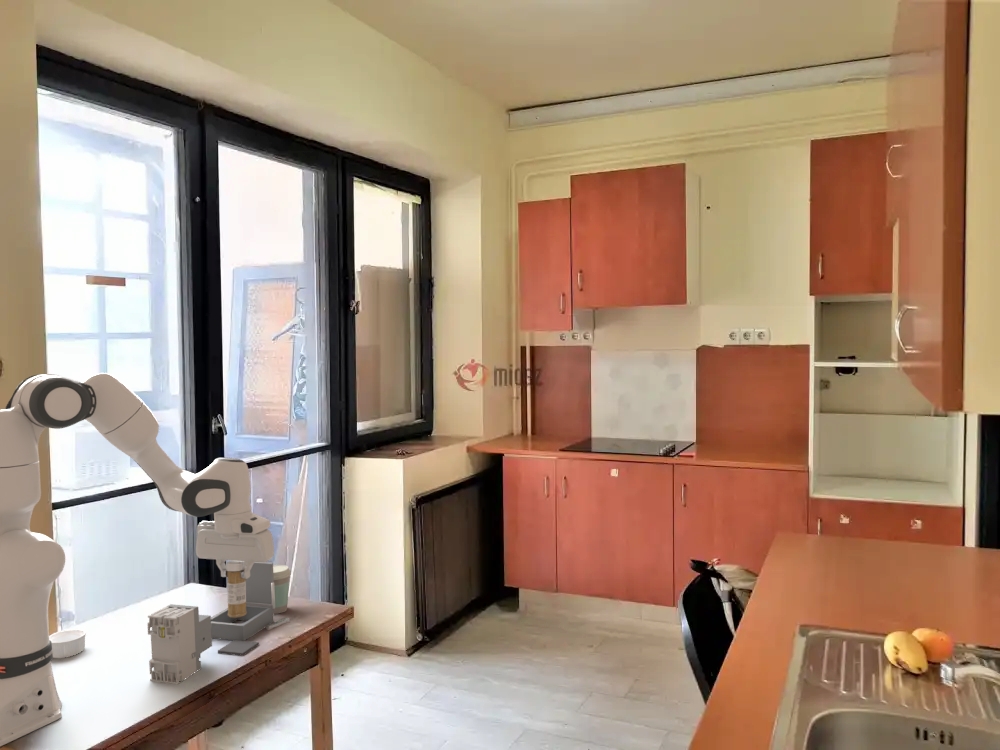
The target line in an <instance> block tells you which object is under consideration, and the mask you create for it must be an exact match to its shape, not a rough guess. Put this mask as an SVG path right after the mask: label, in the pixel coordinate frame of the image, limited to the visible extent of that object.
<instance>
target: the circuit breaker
mask: <svg viewBox="0 0 1000 750" xmlns="http://www.w3.org/2000/svg"><path fill="white" fill-rule="evenodd" d="M199 612H200V611H199V606H197V605H196V606H195V605H183V604H171V603H170V604H169V605H166V606H165V607H162V608H160V609H159V610H157V611H154V612H153V613H151V614H149V615H147V618H148V619H149V620H148V622H147V635H148V636H149V635H150V644H151V646H150V647H151V659H149V663H148V664H149V675H150V677H151V678H150V680H149V681H151V682H156V683H157V682H158V683H166V684H173V683H177V684H176V685H179V684H180V682H179V681H181V682H183V681H182V680H184V679H185V678H187V677H188V676H190V675H191V674H192V673H194V672H196V671H197V670H199V669H200V668H201V669H202V662H201V660H200V659H201V658H202V657H201V654H202V653H203V652H205V651H206V650H208V649H210V648H212V647H213V641H212V640H213V638H212V635H211V627H212V624H211V617H212V616H211V615H208V614H200V613H199ZM201 669H200V670H201ZM200 670H199V671H200ZM197 672H198V671H197ZM197 672H196V673H197ZM194 674H195V673H194ZM191 676H192V675H191ZM191 676H190V677H191ZM188 678H189V677H188ZM188 678H187V679H188ZM185 680H186V679H185ZM185 680H184V681H185ZM178 683H179V684H178Z"/></svg>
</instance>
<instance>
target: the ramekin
mask: <svg viewBox="0 0 1000 750" xmlns="http://www.w3.org/2000/svg"><path fill="white" fill-rule="evenodd" d="M86 634H87V632H86V630H84V629H78V628H75V629H66V630H62V631H57V632H55V633H52V634H49V640H50V641H51V642H52V650H53V652H52V653H53V658H52V659H65V657H66V658H70V656H71V657H74V656H77V655H78V653H79V654H80V653H82V652H83V651H84V650H85V647H86V636H87V635H86ZM81 651H82V652H81ZM76 654H77V655H76ZM73 655H74V656H73Z"/></svg>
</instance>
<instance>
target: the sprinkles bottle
mask: <svg viewBox="0 0 1000 750" xmlns="http://www.w3.org/2000/svg"><path fill="white" fill-rule="evenodd" d="M226 567H227V575H228V576H227V577H226V578H227V583H226V584H227V585H226V587H227V608H228V616H229V617H241V616H244V615H246V613H247V612H246V580H245V579H243V578H241V571H243V570H245V568H246V565H244V561H232V560H228V561H226Z"/></svg>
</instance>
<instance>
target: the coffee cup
mask: <svg viewBox="0 0 1000 750" xmlns="http://www.w3.org/2000/svg"><path fill="white" fill-rule="evenodd" d="M273 575H274V590H275V609H273V615H275V614H276V615H278V614H282V613H284V612H286V611H287V610H288V603H289V602H288V601H289V588H290V578H291V575H292V573H291V570H290V568H289V566H288V565H285V564H275V565H274V564H273Z"/></svg>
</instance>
